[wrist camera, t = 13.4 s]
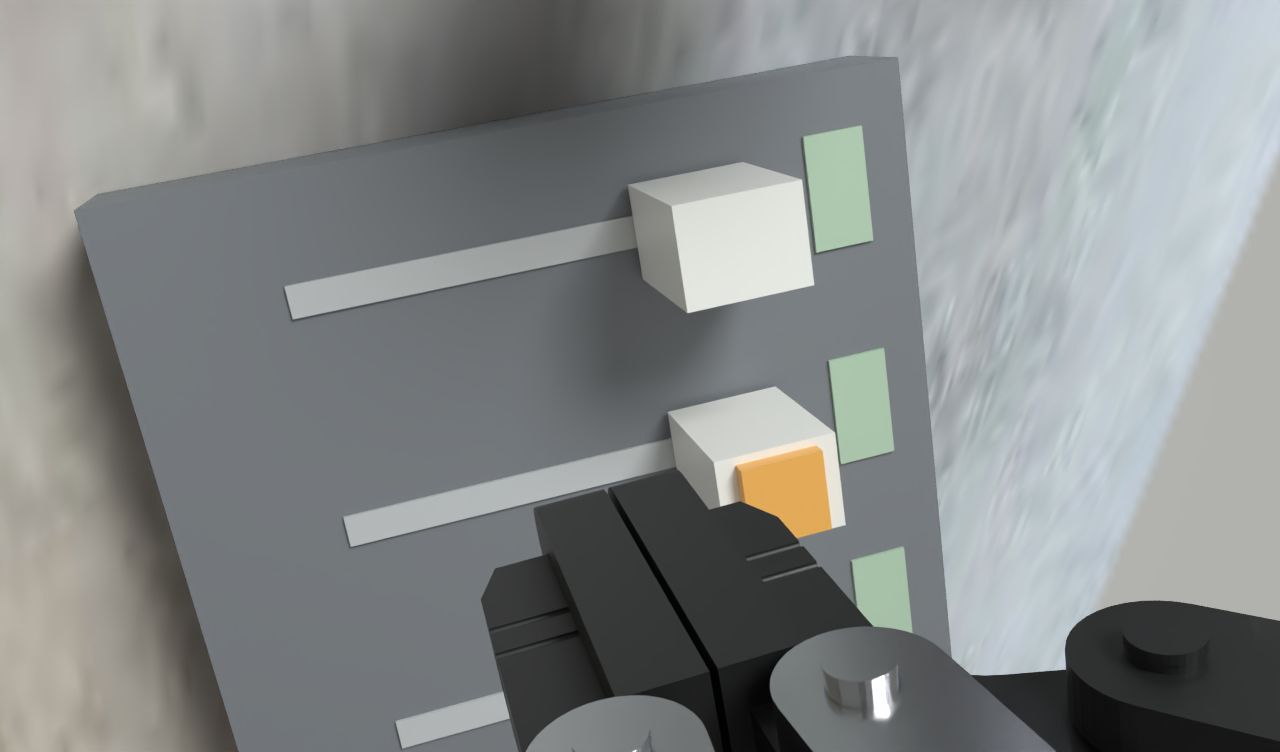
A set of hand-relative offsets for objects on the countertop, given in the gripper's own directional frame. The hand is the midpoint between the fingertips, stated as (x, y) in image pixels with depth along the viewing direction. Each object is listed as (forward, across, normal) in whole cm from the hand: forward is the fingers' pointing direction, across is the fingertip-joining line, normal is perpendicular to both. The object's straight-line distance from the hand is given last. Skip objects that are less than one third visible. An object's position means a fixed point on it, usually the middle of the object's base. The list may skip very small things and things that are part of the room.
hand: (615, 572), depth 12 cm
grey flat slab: (+21, -2, +7) cm, 22 cm away
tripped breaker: (+18, -6, +7) cm, 20 cm away
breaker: (+18, -6, +1) cm, 19 cm away
